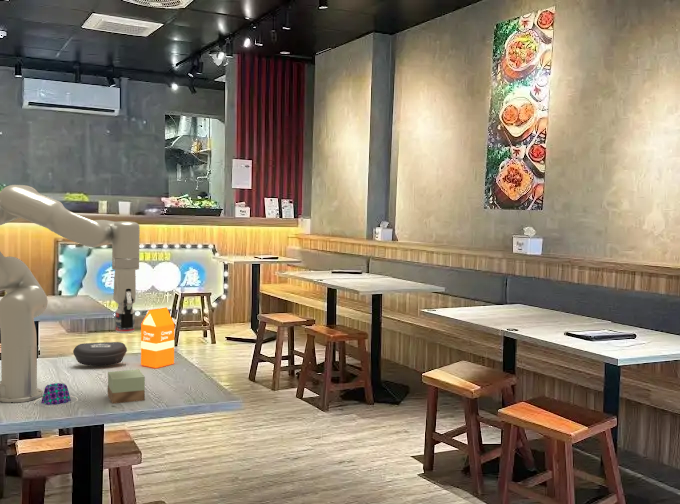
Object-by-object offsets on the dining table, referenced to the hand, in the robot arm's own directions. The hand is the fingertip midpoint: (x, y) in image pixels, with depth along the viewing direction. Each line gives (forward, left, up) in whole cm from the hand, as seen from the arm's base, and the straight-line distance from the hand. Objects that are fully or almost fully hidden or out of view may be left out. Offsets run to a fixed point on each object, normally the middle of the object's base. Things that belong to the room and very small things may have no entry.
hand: (125, 325), depth 209 cm
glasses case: (-1, +47, -23) cm, 53 cm away
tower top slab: (0, 0, -19) cm, 19 cm away
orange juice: (+18, +41, -22) cm, 50 cm away
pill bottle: (0, 0, -2) cm, 2 cm away
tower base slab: (0, 0, -23) cm, 23 cm away
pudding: (-18, +4, -23) cm, 30 cm away
